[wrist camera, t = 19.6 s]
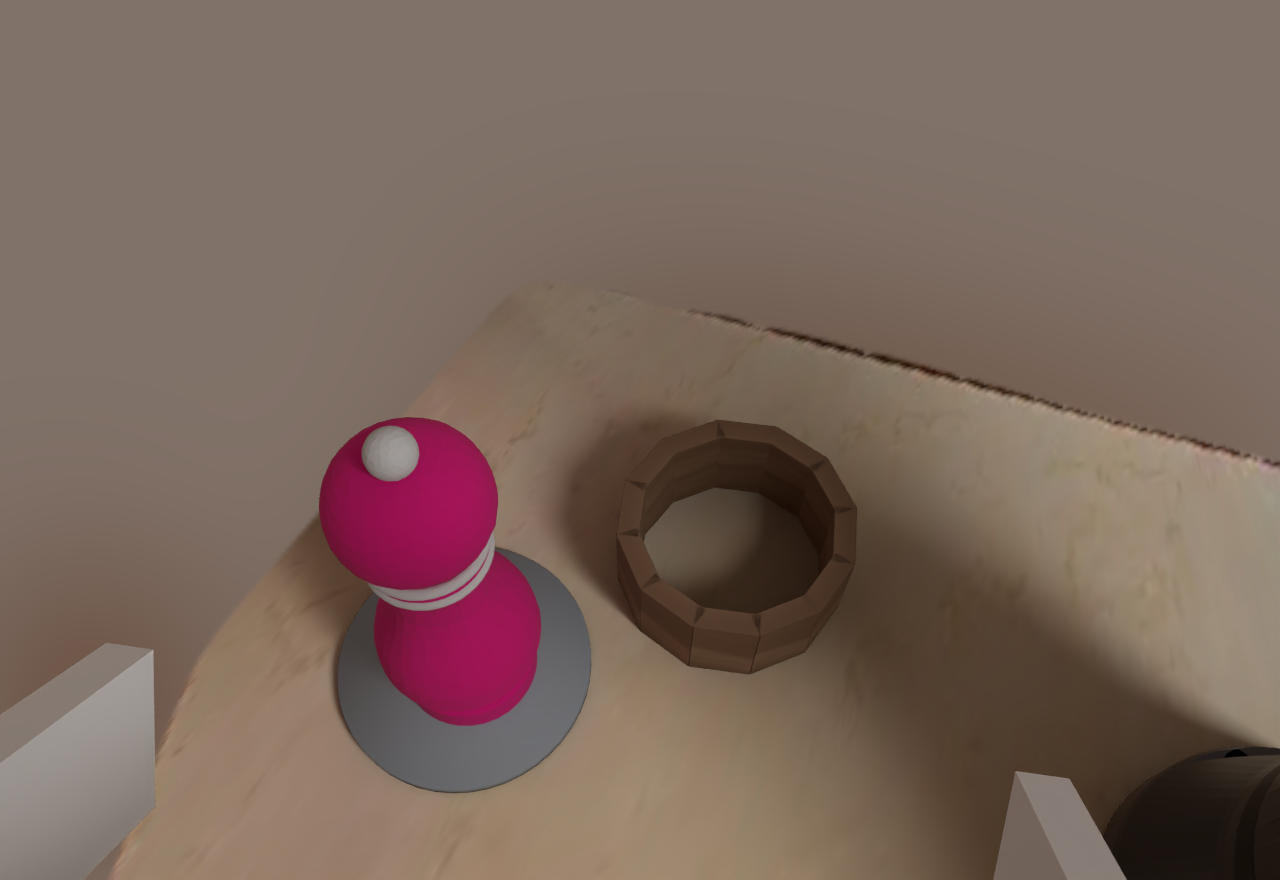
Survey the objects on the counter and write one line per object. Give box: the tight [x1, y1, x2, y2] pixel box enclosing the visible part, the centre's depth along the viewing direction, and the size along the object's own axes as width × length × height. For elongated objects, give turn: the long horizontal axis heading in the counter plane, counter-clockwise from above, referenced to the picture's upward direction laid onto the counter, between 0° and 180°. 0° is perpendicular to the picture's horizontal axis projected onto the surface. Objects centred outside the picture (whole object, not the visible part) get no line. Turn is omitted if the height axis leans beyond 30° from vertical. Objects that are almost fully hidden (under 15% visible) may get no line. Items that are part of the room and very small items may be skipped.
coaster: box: [337, 548, 591, 793], centre depth 49 cm, size 12×12×1 cm
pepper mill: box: [319, 417, 541, 726], centre depth 40 cm, size 7×7×20 cm
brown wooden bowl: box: [616, 420, 857, 674], centre depth 50 cm, size 11×11×5 cm
